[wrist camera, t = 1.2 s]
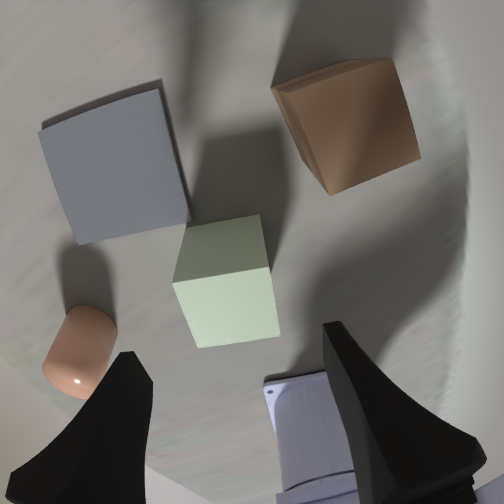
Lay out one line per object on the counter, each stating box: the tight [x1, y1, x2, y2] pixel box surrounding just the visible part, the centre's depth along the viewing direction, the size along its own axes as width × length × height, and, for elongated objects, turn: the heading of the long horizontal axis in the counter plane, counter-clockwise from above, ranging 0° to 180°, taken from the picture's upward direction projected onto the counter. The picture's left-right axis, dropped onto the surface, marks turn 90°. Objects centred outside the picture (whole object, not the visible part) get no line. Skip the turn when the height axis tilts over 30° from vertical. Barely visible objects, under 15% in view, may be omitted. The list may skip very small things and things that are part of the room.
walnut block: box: [271, 58, 421, 196], centre depth 12 cm, size 4×4×5 cm
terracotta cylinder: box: [42, 305, 117, 399], centre depth 19 cm, size 4×4×5 cm
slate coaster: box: [38, 88, 192, 246], centre depth 15 cm, size 7×7×1 cm
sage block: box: [172, 214, 280, 348], centre depth 16 cm, size 4×4×5 cm
